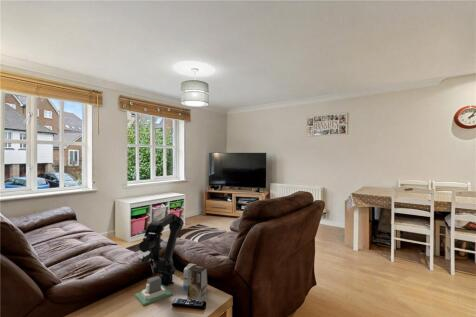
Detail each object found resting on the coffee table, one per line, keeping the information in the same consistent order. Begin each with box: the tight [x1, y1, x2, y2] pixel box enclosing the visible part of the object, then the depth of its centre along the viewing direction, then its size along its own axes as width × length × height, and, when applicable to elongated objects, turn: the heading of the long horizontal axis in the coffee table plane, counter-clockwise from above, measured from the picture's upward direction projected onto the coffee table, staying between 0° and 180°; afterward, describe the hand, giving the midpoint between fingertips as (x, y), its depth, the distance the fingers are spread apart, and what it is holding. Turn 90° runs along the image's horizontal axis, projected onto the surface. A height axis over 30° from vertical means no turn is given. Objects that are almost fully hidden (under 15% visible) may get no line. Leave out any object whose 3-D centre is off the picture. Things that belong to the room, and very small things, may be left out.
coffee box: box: [186, 264, 209, 302], centre depth 132 cm, size 9×6×16 cm
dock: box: [134, 285, 173, 307], centre depth 133 cm, size 16×12×3 cm
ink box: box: [182, 263, 197, 291], centre depth 143 cm, size 8×5×12 cm, turn 168°
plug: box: [145, 275, 161, 294], centre depth 133 cm, size 7×4×8 cm, turn 131°
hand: (154, 274), depth 133 cm, fingers closed
